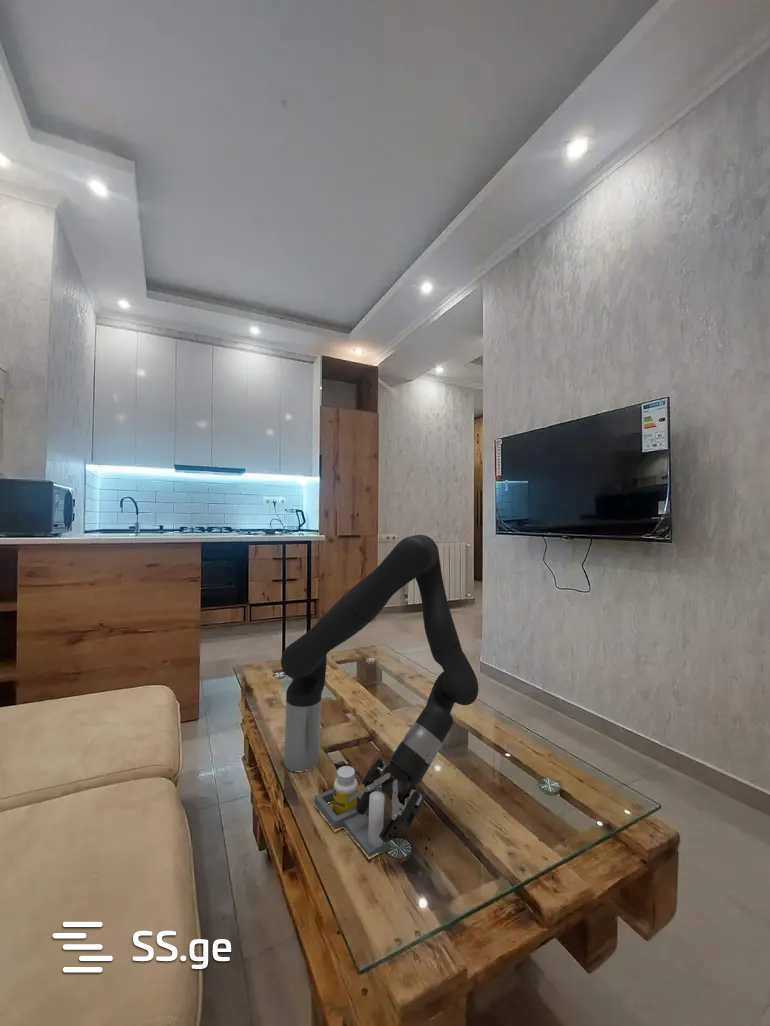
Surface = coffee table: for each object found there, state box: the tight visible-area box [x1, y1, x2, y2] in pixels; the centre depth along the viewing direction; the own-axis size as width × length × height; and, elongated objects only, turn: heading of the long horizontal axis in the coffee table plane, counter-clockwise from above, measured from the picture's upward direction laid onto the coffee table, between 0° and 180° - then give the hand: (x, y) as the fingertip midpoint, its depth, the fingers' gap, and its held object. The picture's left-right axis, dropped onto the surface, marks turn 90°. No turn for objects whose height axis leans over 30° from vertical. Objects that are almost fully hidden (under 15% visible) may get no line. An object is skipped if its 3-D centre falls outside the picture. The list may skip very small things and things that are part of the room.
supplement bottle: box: [332, 765, 359, 816], centre depth 97 cm, size 5×5×10 cm
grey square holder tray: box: [313, 787, 391, 857], centre depth 93 cm, size 19×9×11 cm, turn 36°
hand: (370, 825), depth 86 cm, fingers open, 8 cm apart
